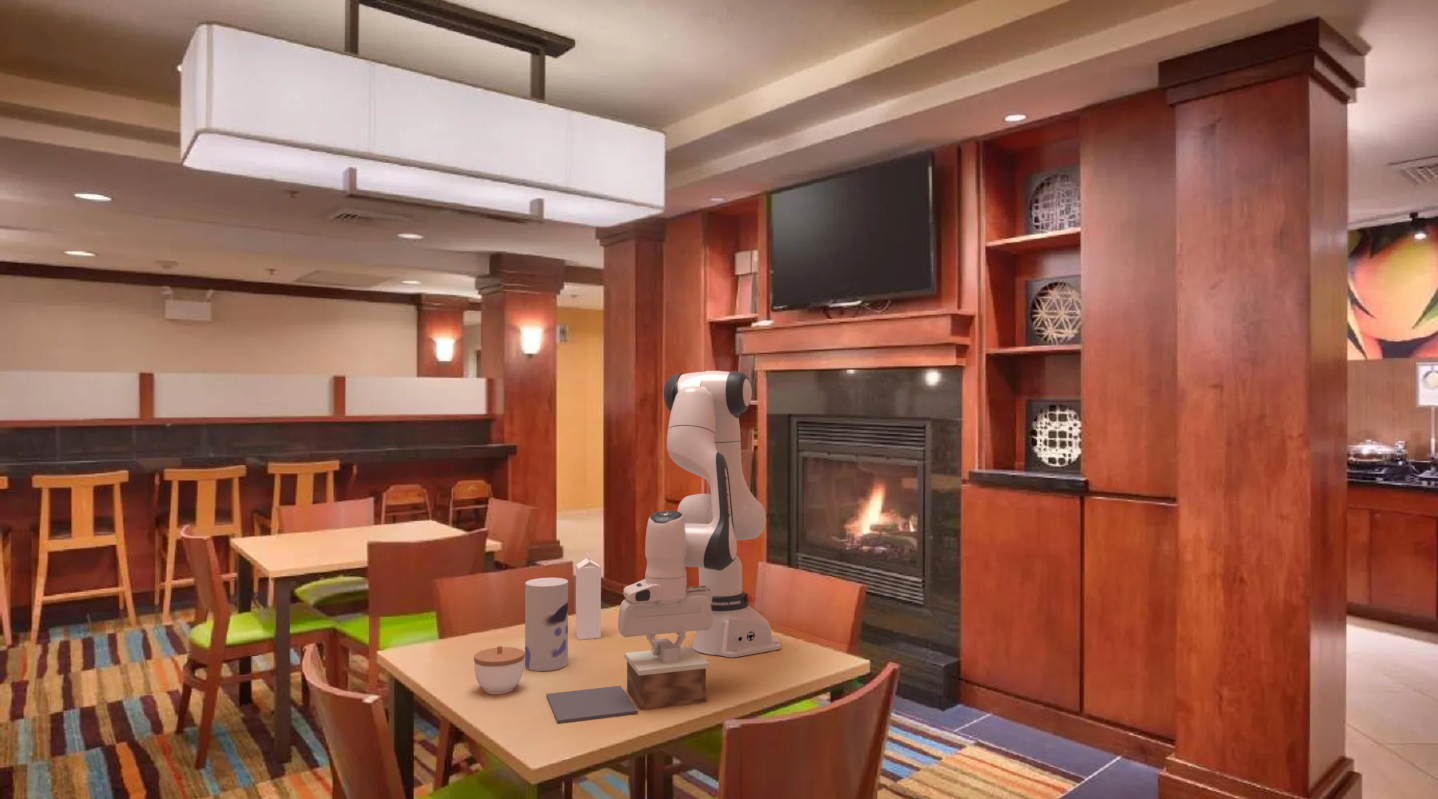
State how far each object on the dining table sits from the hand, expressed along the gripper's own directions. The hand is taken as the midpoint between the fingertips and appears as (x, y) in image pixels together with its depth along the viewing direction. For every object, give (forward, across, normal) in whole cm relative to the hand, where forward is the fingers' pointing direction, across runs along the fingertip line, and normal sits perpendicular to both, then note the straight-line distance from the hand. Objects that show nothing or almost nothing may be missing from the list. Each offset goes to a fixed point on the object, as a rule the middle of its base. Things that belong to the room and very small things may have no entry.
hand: (665, 653), depth 176 cm
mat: (+9, +16, 0) cm, 18 cm away
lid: (+3, 0, 0) cm, 3 cm away
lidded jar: (+9, +33, -16) cm, 38 cm away
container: (+9, +21, -30) cm, 38 cm away
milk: (+9, +7, -52) cm, 53 cm away
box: (+9, 0, 0) cm, 9 cm away
